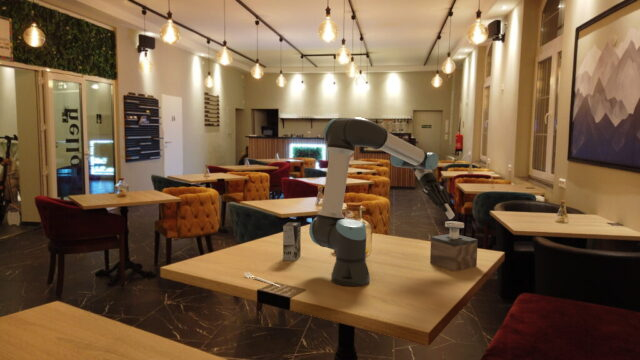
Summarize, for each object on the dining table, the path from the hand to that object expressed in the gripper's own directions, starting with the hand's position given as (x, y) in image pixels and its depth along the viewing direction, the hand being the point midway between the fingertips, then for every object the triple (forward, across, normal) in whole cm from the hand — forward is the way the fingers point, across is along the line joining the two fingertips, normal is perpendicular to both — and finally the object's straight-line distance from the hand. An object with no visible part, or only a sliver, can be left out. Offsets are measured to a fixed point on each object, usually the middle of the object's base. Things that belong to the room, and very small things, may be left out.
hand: (452, 217), depth 202 cm
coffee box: (-16, +57, -46) cm, 75 cm away
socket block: (+16, +1, -13) cm, 21 cm away
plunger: (+13, +1, -10) cm, 16 cm away
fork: (+1, +83, -29) cm, 88 cm away
